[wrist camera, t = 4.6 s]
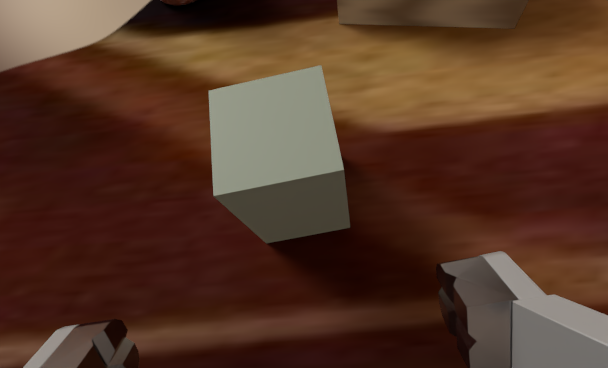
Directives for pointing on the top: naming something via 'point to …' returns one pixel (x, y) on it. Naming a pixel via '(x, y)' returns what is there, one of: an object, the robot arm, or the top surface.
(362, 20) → the maple base slab
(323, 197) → the sage block
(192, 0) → the supplement bottle
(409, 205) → the top surface
